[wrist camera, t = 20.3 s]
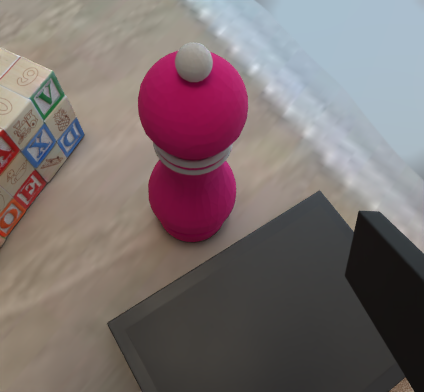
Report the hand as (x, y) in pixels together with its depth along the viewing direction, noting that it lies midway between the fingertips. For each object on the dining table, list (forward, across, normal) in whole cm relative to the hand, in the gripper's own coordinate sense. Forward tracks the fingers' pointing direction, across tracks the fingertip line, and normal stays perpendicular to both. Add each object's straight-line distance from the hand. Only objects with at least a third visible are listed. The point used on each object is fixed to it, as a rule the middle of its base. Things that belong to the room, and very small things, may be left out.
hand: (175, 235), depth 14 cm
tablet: (+13, +8, -15) cm, 21 cm away
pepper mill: (+20, 0, -8) cm, 22 cm away
